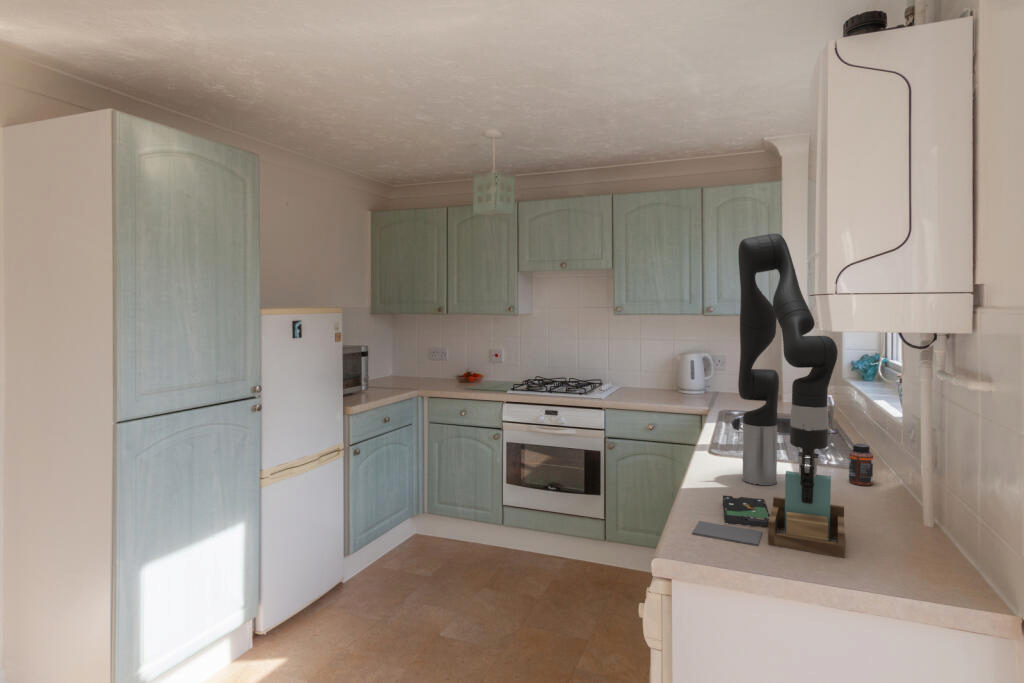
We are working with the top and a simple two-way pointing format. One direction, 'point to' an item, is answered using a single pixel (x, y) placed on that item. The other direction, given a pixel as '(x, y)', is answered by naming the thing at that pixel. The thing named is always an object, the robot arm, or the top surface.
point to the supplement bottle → (861, 465)
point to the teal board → (819, 496)
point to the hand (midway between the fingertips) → (807, 500)
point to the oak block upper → (807, 525)
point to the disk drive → (745, 511)
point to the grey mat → (728, 533)
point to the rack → (806, 543)
